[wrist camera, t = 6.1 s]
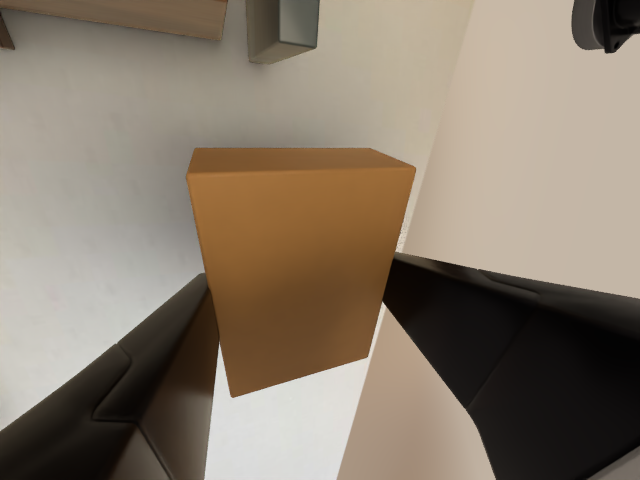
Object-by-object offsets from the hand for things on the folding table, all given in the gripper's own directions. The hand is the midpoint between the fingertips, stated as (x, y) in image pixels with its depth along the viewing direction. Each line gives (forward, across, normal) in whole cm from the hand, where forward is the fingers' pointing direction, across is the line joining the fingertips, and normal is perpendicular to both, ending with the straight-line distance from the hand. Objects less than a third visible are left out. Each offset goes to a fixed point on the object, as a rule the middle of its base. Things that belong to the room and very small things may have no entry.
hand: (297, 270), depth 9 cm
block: (+1, 0, 0) cm, 1 cm away
